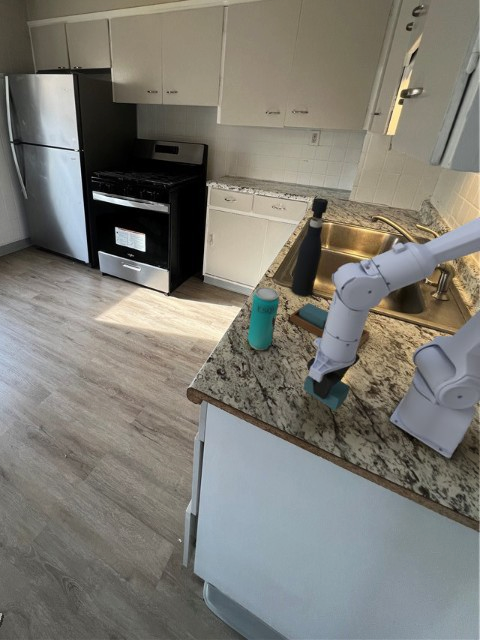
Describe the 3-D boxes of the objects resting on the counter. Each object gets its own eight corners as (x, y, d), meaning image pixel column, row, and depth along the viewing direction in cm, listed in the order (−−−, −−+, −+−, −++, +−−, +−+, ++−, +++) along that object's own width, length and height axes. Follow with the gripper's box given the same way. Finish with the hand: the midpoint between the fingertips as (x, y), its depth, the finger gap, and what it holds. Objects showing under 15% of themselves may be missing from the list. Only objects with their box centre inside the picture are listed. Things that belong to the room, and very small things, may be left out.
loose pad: (346, 398, 59) (350, 386, 58) (335, 411, 56) (339, 399, 55) (314, 377, 64) (317, 366, 62) (302, 389, 61) (305, 377, 60)
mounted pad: (330, 323, 85) (332, 314, 84) (321, 330, 82) (324, 320, 81) (306, 311, 90) (308, 302, 88) (298, 317, 87) (300, 308, 86)
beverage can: (271, 354, 74) (280, 301, 68) (246, 350, 75) (253, 297, 69) (270, 338, 79) (279, 287, 73) (247, 335, 80) (254, 284, 74)
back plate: (367, 338, 80) (370, 332, 80) (351, 355, 75) (354, 348, 74) (307, 308, 92) (308, 302, 91) (289, 320, 86) (290, 314, 86)
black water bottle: (289, 285, 104) (306, 196, 91) (309, 287, 103) (329, 197, 90) (292, 295, 98) (311, 202, 85) (313, 297, 98) (335, 203, 85)
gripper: (339, 305, 61) (325, 358, 66) (298, 336, 52) (286, 394, 58) (378, 322, 56) (359, 378, 62) (340, 360, 47) (322, 421, 53)
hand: (326, 388), depth 59 cm, fingers closed on loose pad, 4 cm apart
